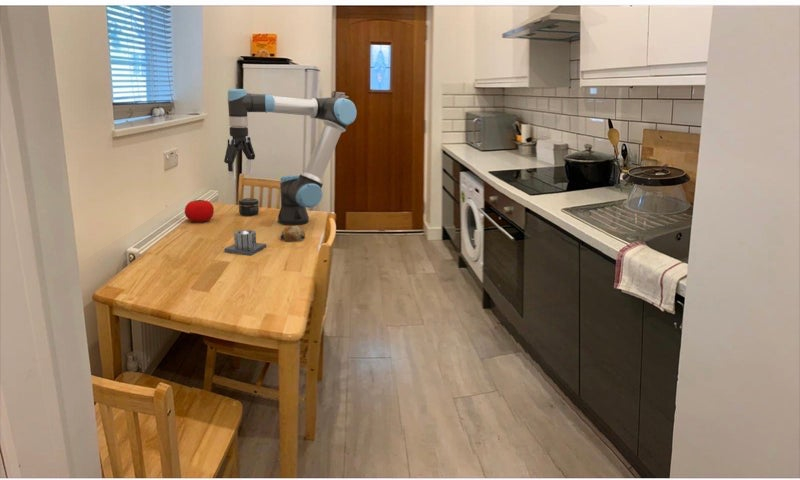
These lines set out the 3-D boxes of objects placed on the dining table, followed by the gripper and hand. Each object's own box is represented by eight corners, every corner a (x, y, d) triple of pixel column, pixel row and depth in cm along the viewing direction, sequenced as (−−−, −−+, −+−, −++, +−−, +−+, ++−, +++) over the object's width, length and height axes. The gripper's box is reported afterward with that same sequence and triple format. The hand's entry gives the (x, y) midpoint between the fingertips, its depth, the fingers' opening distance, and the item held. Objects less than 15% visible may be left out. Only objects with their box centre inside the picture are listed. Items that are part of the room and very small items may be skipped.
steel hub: (242, 242, 228) (241, 228, 226) (260, 244, 225) (259, 230, 224) (230, 247, 220) (230, 233, 218) (249, 250, 218) (248, 235, 216)
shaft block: (241, 244, 230) (240, 225, 228) (266, 247, 227) (265, 228, 225) (224, 252, 219) (223, 232, 217) (250, 255, 216) (249, 235, 214)
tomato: (202, 225, 258) (201, 203, 255) (179, 222, 261) (177, 201, 259) (220, 218, 271) (219, 198, 268) (198, 216, 275) (196, 196, 272)
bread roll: (295, 250, 236) (302, 235, 234) (275, 239, 237) (282, 223, 234) (303, 244, 246) (310, 229, 243) (284, 233, 246) (291, 218, 243)
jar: (235, 214, 282) (234, 199, 280) (251, 211, 289) (250, 197, 287) (246, 217, 276) (245, 202, 273) (263, 214, 283) (262, 200, 281)
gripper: (246, 124, 242) (249, 171, 248) (213, 128, 219) (216, 180, 225) (261, 125, 240) (263, 173, 246) (229, 129, 217) (232, 181, 223)
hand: (241, 176), depth 235 cm, fingers open, 13 cm apart
